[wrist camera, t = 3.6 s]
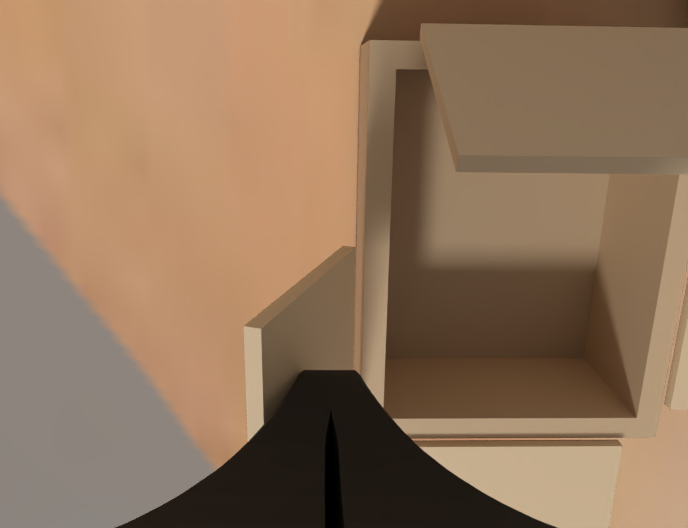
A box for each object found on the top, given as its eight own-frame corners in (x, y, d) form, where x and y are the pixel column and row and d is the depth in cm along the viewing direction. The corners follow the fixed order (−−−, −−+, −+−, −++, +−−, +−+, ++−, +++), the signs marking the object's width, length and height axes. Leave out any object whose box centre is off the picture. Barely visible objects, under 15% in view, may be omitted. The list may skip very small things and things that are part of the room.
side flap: (261, 328, 10) (243, 326, 10) (268, 585, 11) (252, 581, 11) (355, 247, 14) (342, 246, 14) (351, 437, 16) (340, 435, 16)
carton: (688, 498, 22) (768, 593, 18) (350, 500, 22) (356, 598, 18) (782, 53, 18) (917, 48, 14) (360, 46, 17) (370, 39, 13)
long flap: (844, 175, 10) (855, 159, 9) (456, 172, 9) (458, 155, 9) (700, 41, 13) (706, 28, 13) (419, 37, 13) (421, 23, 13)
